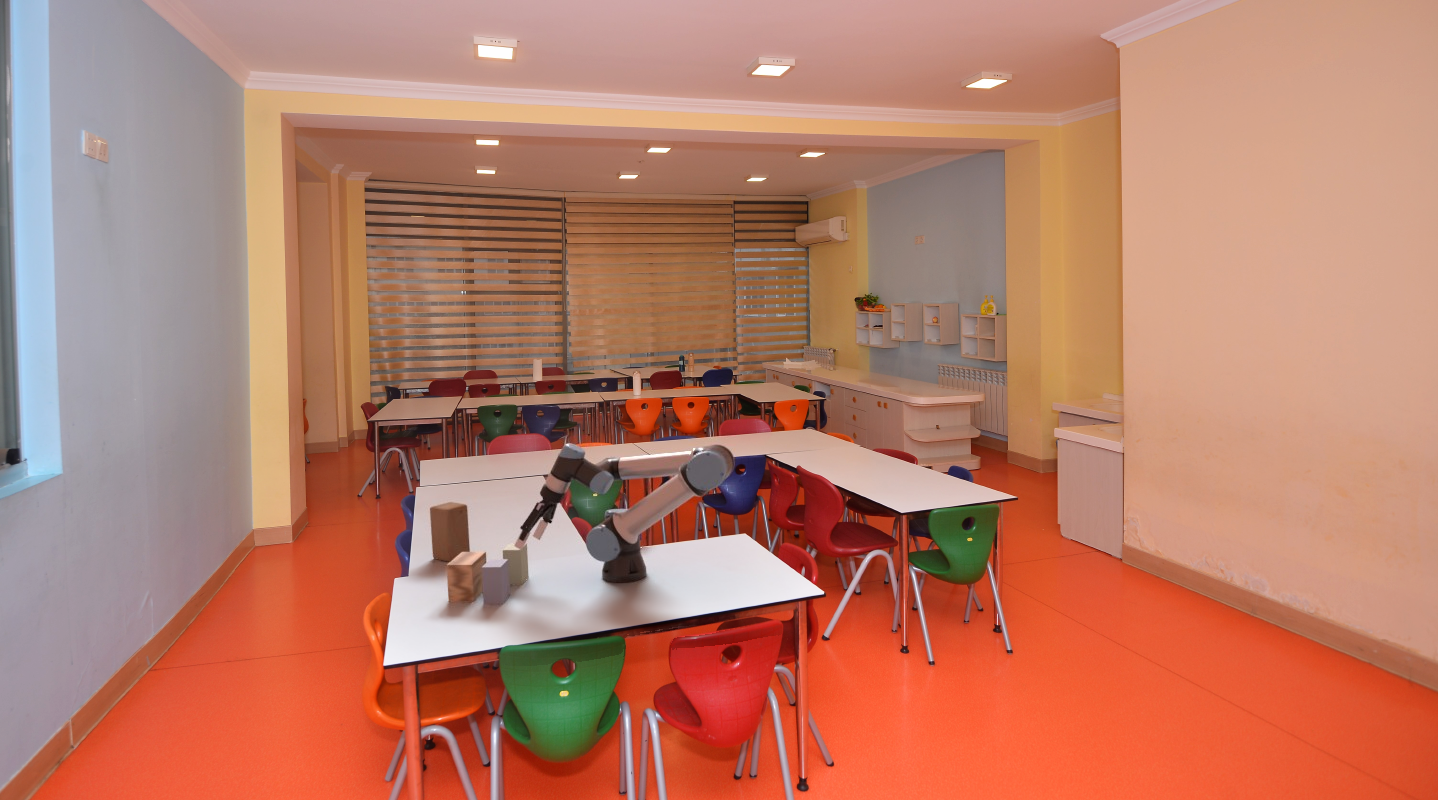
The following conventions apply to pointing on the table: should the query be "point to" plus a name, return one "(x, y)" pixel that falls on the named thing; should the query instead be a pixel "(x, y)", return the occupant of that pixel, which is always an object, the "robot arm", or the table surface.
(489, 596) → the lavender block
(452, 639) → the table surface
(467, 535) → the wooden block
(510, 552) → the beige block
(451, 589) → the oak block
